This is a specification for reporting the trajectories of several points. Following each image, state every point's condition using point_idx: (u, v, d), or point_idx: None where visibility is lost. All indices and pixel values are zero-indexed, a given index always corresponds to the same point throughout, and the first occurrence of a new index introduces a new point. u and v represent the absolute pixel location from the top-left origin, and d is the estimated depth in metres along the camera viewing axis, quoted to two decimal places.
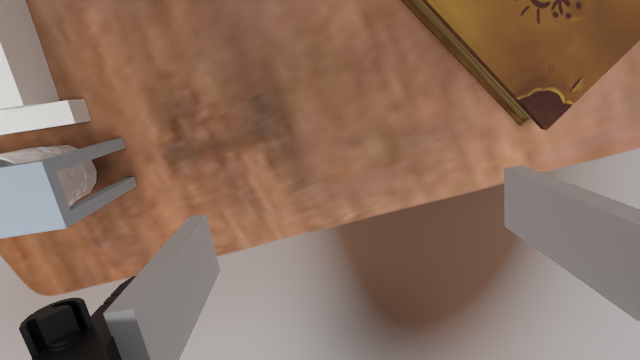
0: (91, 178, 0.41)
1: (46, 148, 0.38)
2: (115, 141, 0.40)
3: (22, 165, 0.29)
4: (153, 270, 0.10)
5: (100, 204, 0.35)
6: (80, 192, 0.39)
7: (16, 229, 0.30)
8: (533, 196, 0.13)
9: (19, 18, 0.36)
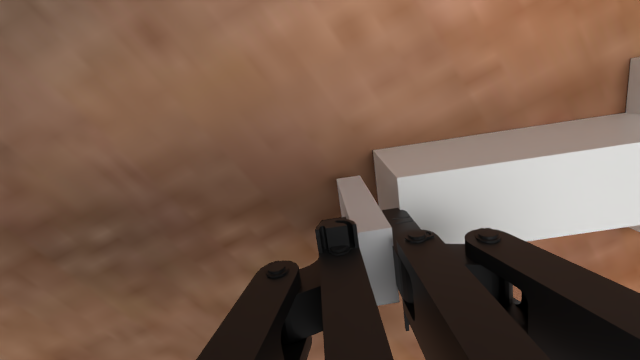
0: None
1: None
2: None
3: None
4: (358, 209, 0.13)
5: None
6: None
7: None
8: None
9: (480, 143, 0.17)
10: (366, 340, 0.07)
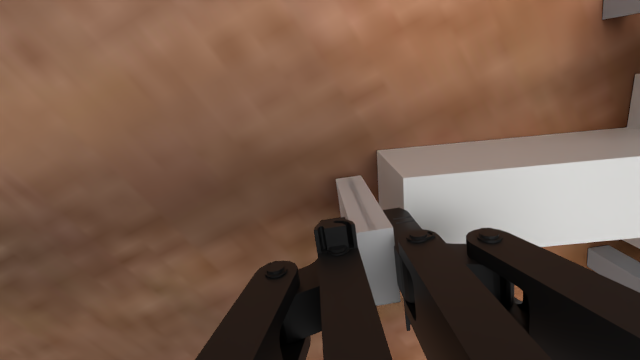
0: None
1: None
2: None
3: None
4: (357, 209, 0.13)
5: None
6: None
7: None
8: None
9: (485, 149, 0.17)
10: (364, 341, 0.07)
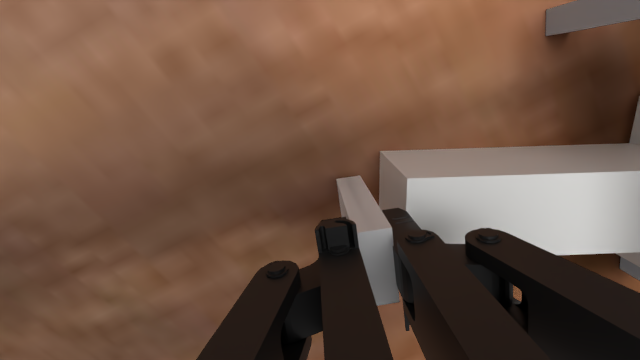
0: None
1: None
2: (575, 1, 0.15)
3: None
4: (358, 209, 0.13)
5: None
6: None
7: None
8: None
9: (488, 155, 0.17)
10: (366, 341, 0.07)
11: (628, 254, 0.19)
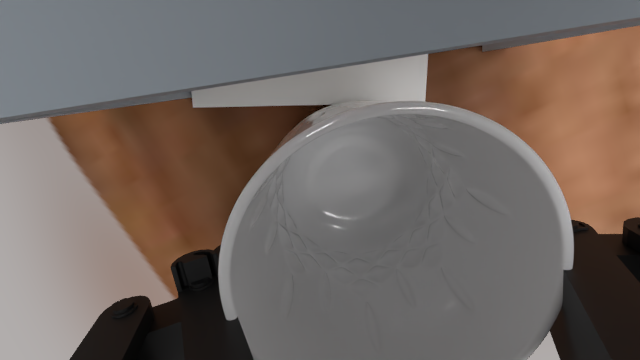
0: None
1: None
2: None
3: None
4: None
5: None
6: None
7: None
8: None
9: None
10: None
11: None
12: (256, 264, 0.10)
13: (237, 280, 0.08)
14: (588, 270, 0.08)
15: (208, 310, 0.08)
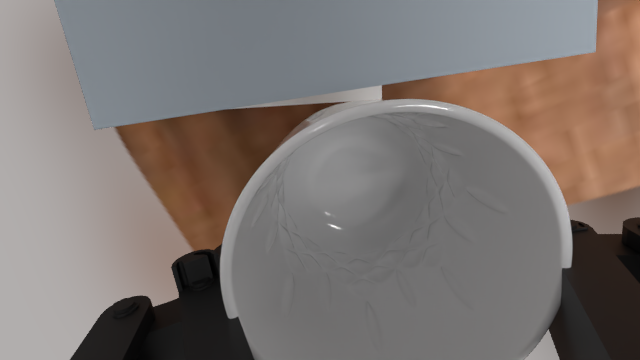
0: None
1: None
2: None
3: None
4: None
5: None
6: None
7: (457, 52, 0.10)
8: None
9: None
10: None
11: None
12: (257, 263, 0.10)
13: (238, 278, 0.08)
14: (587, 270, 0.08)
15: (209, 310, 0.08)
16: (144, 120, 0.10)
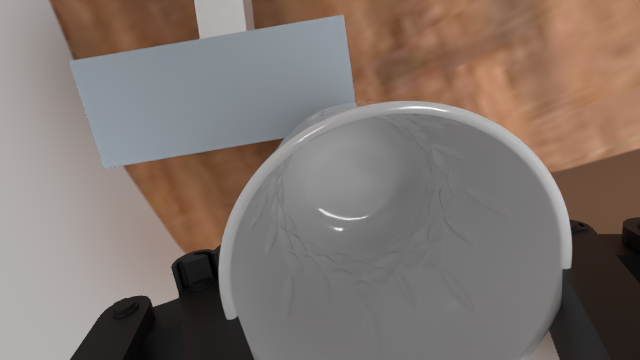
0: None
1: None
2: None
3: (314, 21, 0.19)
4: None
5: None
6: None
7: (286, 127, 0.20)
8: None
9: None
10: None
11: None
12: (256, 264, 0.10)
13: (237, 280, 0.08)
14: (588, 270, 0.08)
15: (209, 310, 0.08)
16: (129, 163, 0.20)
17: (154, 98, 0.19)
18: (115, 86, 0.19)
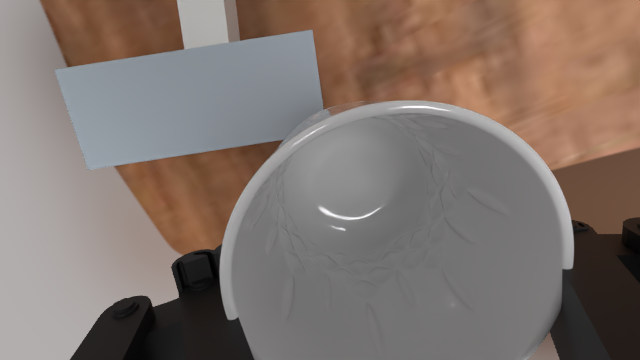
0: None
1: None
2: None
3: (284, 35, 0.20)
4: None
5: None
6: None
7: (258, 133, 0.21)
8: None
9: (232, 5, 0.30)
10: None
11: None
12: (257, 264, 0.10)
13: (238, 279, 0.08)
14: (587, 270, 0.08)
15: (209, 310, 0.08)
16: (111, 165, 0.22)
17: (135, 105, 0.21)
18: (98, 93, 0.20)
